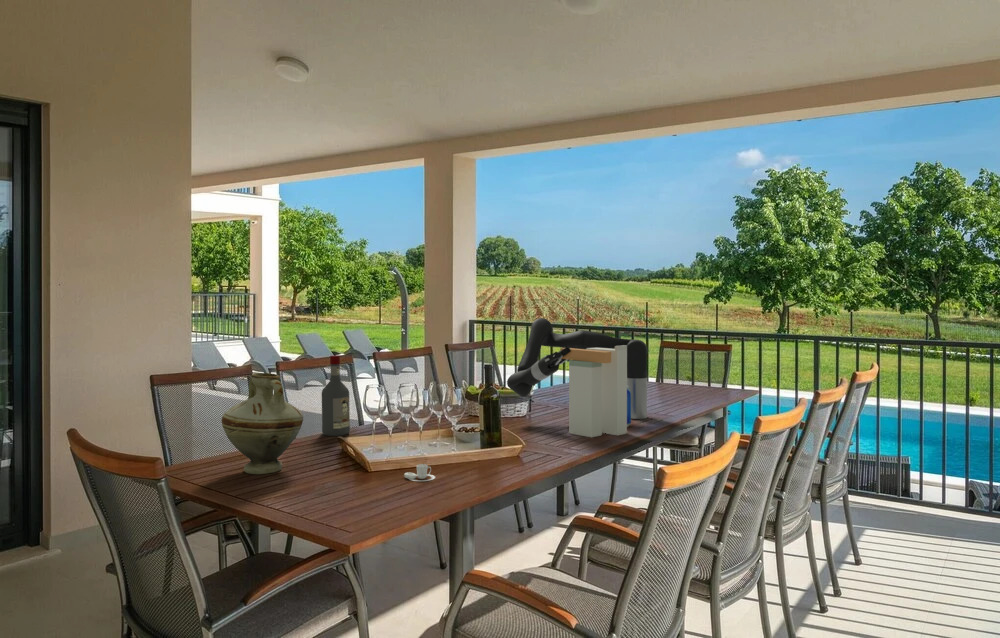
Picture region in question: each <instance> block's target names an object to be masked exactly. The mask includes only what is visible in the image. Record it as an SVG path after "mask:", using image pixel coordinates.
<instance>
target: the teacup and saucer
mask: <svg viewBox="0 0 1000 638" xmlns="http://www.w3.org/2000/svg"><path fill="white" fill-rule="evenodd" d="M428 469H430V470H429V472H428ZM431 472H432V468H431V466H428V464H425V463H420V464H417V465H416V473H414V472H410V471H409V472H405V473H404V474H403V477H404V478H406V479H408V480H409V481H413V482H428V481H429V482H430V481H434V479H436V475H433V474H431ZM427 477H430V478H429V479H426V478H427ZM416 478H418V479H421V480H418V479H416ZM423 479H424V480H423Z"/></svg>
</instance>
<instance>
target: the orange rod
mask: <svg viewBox="0 0 1000 638" xmlns="http://www.w3.org/2000/svg"><path fill="white" fill-rule="evenodd" d="M559 348H560V347H559ZM563 349H565V348H560V349H559V351H562V350H563ZM570 350H571V352H569V353H568V354H566V355H565V356H564V357H562V358H561V359H569V360H579V361H588V362H598V363H611V352H608V351H597V350H586V349H575V348H570Z"/></svg>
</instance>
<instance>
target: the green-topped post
mask: <svg viewBox="0 0 1000 638" xmlns="http://www.w3.org/2000/svg"><path fill="white" fill-rule="evenodd" d="M568 407H569V408H568V414H569V415H568V420H569V421H568V425H569V426H568V427H569V428H568V429H569V430H568V433H569V434H571V435H575V436H576V435H577V436H580V437H581V436H583V437H587V438H595V437H596V438H597V437H600V436H602V435H603V433H602V363H598V362H588V361H579V360H569V362H568Z"/></svg>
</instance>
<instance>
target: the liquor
mask: <svg viewBox="0 0 1000 638" xmlns="http://www.w3.org/2000/svg"><path fill="white" fill-rule="evenodd" d="M340 357H341V356H340V355H330V356H329V363H330V379H329V382H327V384H326V385H325V386H324V387H323V388H322V390H321V432H322V435H324V436H326V437H327V436H330V437H342V436H344V435H348V434H349V433H350V432H351V429H350V428H351V427H350V425H351V420H350V419H351V417H350V410H351V409H350V391H349V388H348V387H347V386H346V385H345V384H344V383H343V382H342V379H341V373H340V372H341V370H340V369H341V368H340V364H341V362H340V361H341V359H340Z"/></svg>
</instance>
